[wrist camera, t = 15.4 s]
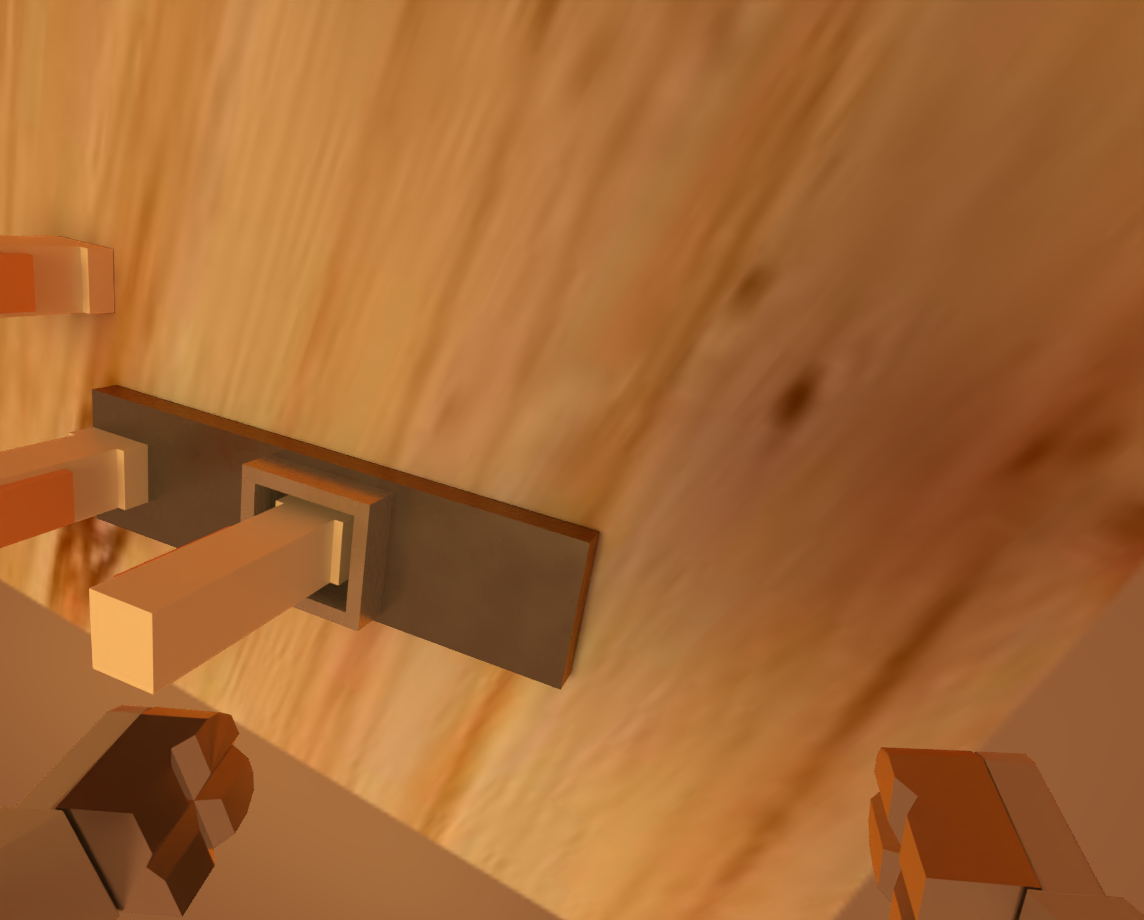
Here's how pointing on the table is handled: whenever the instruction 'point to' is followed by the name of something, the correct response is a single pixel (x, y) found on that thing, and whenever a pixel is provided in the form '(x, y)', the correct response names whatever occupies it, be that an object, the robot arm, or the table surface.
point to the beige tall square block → (215, 591)
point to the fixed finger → (69, 482)
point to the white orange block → (54, 276)
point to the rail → (371, 534)
